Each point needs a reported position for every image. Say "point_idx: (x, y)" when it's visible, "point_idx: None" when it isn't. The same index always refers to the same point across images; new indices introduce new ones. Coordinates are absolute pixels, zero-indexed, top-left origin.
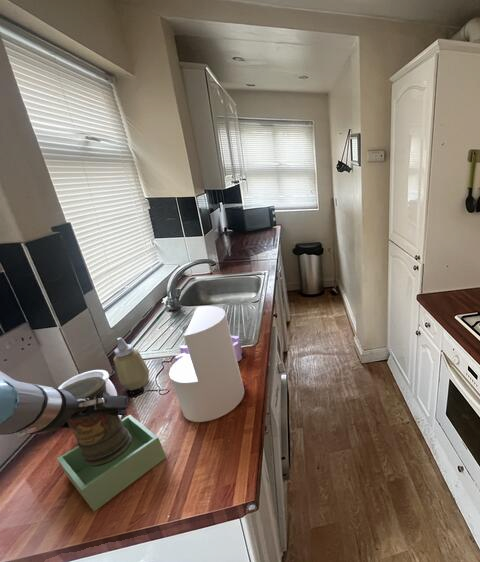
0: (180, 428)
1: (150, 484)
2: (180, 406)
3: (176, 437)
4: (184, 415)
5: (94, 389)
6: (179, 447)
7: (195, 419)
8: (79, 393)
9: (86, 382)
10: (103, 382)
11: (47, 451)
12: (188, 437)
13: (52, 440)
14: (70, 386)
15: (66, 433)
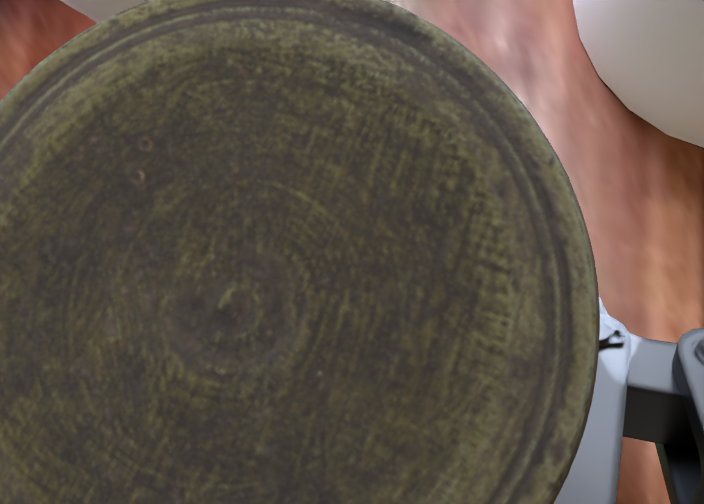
0: (602, 161)
1: None
2: (618, 37)
3: (598, 220)
4: (612, 79)
5: (523, 428)
6: (634, 298)
7: (688, 134)
8: (294, 455)
9: (268, 125)
10: (586, 232)
11: None
12: (665, 243)
13: (4, 39)
14: (48, 160)
15: (45, 11)
